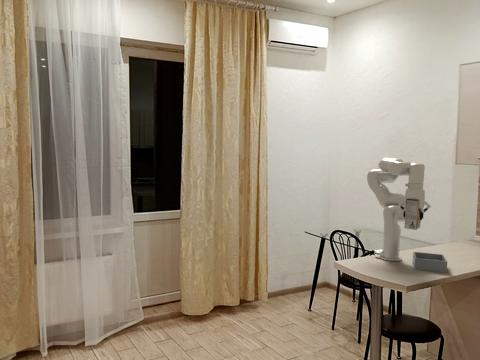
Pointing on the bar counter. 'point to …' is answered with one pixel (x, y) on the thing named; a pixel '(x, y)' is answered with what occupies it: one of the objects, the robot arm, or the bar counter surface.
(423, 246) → the bar counter surface
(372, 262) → the bar counter surface
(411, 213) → the coffee box
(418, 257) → the bin
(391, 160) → the robot arm
